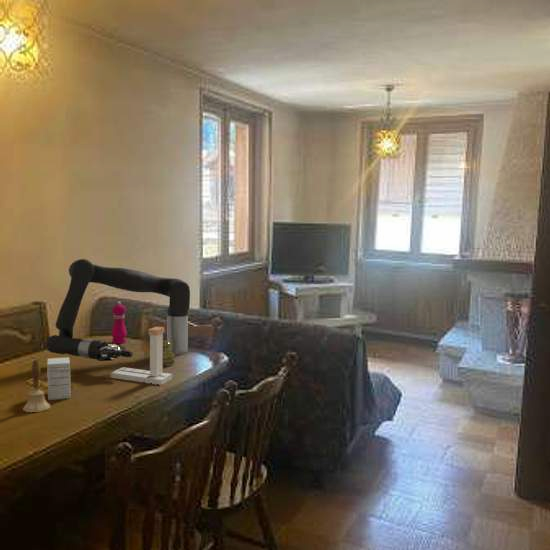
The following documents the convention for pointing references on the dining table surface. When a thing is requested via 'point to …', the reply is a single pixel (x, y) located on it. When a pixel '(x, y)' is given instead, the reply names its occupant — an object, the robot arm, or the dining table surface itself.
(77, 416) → the dining table surface
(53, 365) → the supplement box
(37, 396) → the hand bell
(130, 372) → the white scale plate
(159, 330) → the fader tab
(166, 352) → the brass knobbed piece
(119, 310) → the pepper mill
